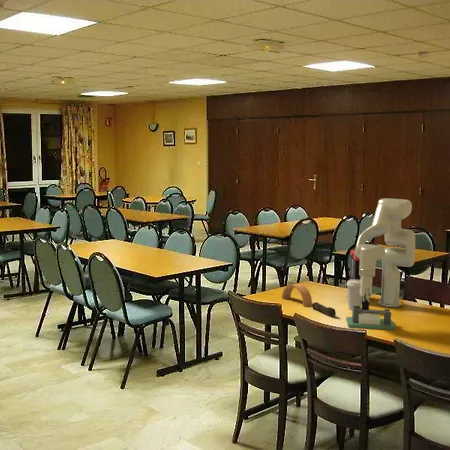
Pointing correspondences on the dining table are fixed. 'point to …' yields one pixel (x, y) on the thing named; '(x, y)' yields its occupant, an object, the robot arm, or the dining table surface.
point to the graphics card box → (354, 267)
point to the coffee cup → (354, 293)
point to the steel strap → (373, 311)
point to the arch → (303, 291)
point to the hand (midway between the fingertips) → (365, 309)
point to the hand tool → (324, 309)
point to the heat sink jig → (369, 320)
